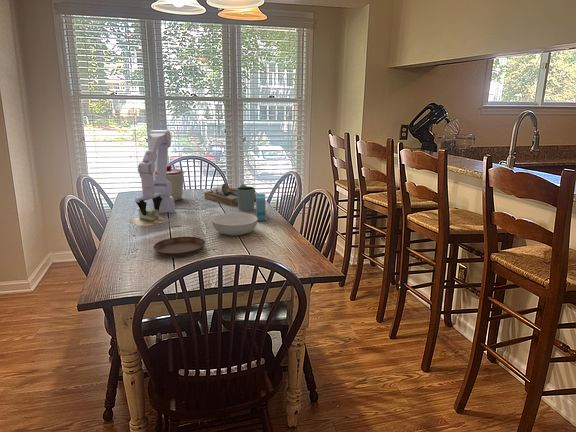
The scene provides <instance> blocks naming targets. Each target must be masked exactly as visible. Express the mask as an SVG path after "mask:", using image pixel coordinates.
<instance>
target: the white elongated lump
mask: <svg viewBox="0 0 576 432" xmlns="http://www.w3.org/2000/svg"><path fill="white" fill-rule="evenodd" d="M239 187H248V186H247V185H246V184H243V183H241V184H240V186H239ZM230 188H231V187H230V186H229V185H228V184H227V183H222V184H220V185H218V186H215V187H212V190H211V191H212V192H213V194H216V195H220V196H223V197H229V196H230V194H233V195H232V196H234V195H236V194H237V192H230Z"/></svg>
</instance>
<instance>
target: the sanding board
mask: <svg viewBox="0 0 576 432" xmlns="http://www.w3.org/2000/svg"><path fill="white" fill-rule="evenodd" d="M158 217H159V220H155V221H152V222H151V221H147V220H142V219H140V218H139V217H133V218H129V219H125V222H128V223H130V224H132V225H133V224H134V225H135V226H138V227H140V228H144V227H148V226H153V225H157V224H163V223H166V222H167V223H168V222H170V220H169V219H166V218H164V217H161V216H158Z"/></svg>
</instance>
